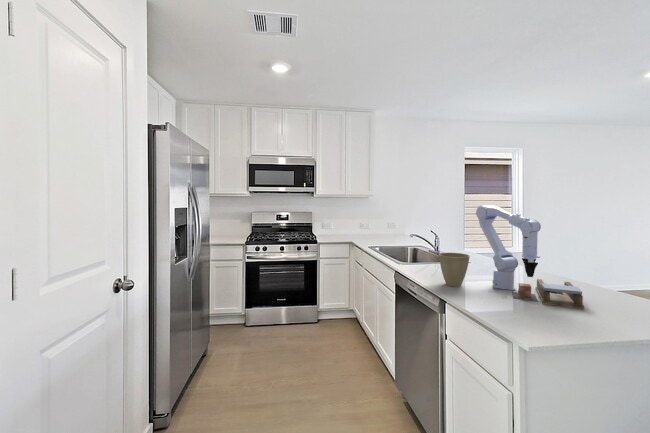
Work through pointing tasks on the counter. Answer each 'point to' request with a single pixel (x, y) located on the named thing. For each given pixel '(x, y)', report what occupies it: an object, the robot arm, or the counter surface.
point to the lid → (561, 288)
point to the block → (524, 290)
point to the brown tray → (559, 297)
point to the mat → (516, 296)
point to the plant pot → (454, 267)
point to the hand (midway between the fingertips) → (529, 275)
